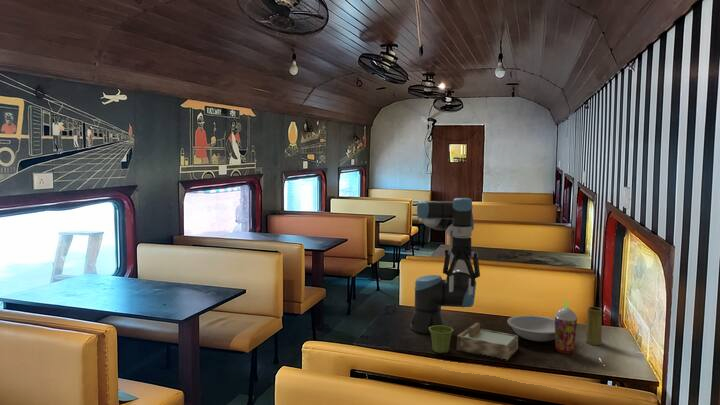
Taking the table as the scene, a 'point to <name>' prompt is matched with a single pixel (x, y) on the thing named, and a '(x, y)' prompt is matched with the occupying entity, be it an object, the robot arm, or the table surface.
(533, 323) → the soup bowl
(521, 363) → the table surface
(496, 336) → the cover plate
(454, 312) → the table surface
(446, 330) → the plant pot
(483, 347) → the box
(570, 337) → the smoothie
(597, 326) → the vase
